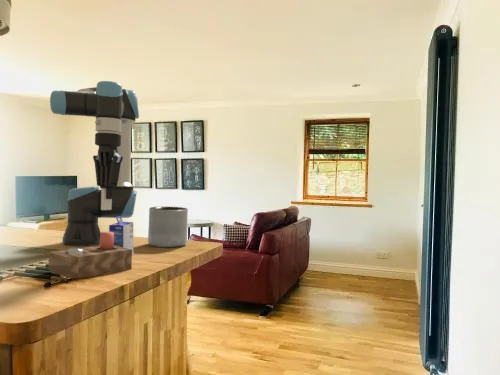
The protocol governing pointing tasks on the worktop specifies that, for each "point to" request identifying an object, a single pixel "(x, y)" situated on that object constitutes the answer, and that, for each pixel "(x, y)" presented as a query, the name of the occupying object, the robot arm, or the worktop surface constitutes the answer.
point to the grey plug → (75, 251)
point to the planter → (167, 227)
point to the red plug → (106, 241)
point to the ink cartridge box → (122, 234)
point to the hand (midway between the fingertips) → (106, 209)
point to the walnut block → (90, 261)
